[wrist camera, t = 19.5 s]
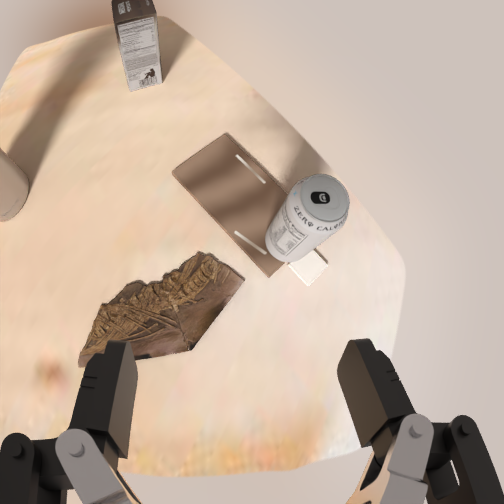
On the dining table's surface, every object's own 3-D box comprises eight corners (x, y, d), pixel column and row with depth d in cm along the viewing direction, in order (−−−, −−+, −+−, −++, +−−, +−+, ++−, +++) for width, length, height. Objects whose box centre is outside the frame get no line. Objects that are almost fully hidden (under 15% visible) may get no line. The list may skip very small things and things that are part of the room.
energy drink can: (309, 262, 41) (360, 228, 27) (266, 265, 40) (298, 230, 26) (304, 220, 42) (348, 169, 28) (261, 221, 42) (289, 167, 27)
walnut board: (172, 174, 43) (171, 171, 42) (224, 138, 45) (224, 134, 44) (268, 277, 41) (270, 276, 40) (317, 230, 43) (320, 228, 43)
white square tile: (286, 265, 42) (289, 264, 41) (306, 246, 43) (308, 244, 42) (306, 286, 42) (309, 285, 41) (325, 267, 43) (328, 265, 42)
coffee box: (124, 64, 47) (110, -1, 31) (156, 55, 48) (149, -11, 33) (129, 93, 45) (112, 23, 30) (164, 83, 47) (157, 11, 31)
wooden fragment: (224, 241, 41) (224, 239, 40) (261, 314, 40) (263, 314, 39) (60, 319, 36) (57, 319, 35) (93, 392, 34) (90, 394, 33)
